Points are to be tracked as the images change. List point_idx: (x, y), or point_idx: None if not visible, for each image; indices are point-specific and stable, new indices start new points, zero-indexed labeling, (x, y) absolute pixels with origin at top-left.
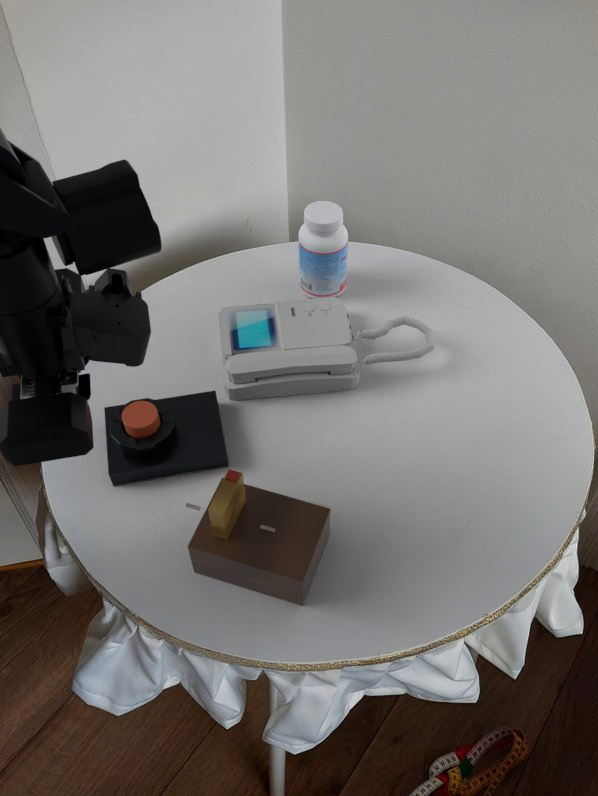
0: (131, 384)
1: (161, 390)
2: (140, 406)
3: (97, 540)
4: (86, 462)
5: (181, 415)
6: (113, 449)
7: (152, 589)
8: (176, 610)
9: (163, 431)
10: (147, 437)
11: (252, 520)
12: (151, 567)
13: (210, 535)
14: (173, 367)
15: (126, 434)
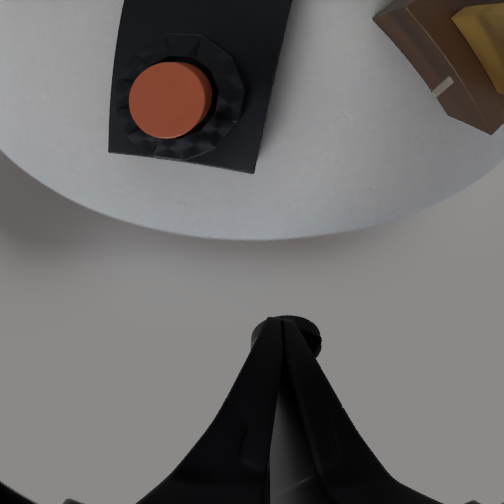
0: (67, 102)
1: (89, 57)
2: (144, 95)
3: (338, 207)
4: (194, 188)
5: (166, 23)
6: (202, 154)
7: (439, 171)
8: (473, 158)
9: (214, 60)
10: None
11: None
12: (414, 159)
13: (494, 95)
14: (55, 39)
15: None
